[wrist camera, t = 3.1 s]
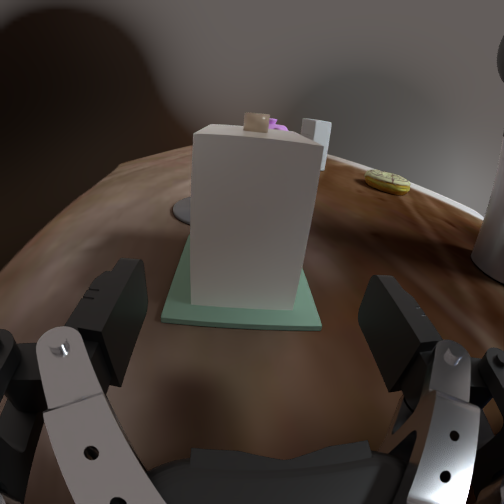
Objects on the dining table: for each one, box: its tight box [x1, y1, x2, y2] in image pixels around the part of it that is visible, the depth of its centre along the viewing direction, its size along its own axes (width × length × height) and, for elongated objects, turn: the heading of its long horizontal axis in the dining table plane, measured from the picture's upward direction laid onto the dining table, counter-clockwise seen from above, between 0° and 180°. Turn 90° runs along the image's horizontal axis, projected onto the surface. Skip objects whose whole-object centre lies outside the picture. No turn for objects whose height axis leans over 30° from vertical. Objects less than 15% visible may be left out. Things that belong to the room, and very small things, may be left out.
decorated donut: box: [365, 170, 410, 196], centre depth 59 cm, size 10×11×4 cm
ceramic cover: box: [190, 112, 324, 310], centre depth 20 cm, size 9×7×12 cm
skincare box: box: [301, 118, 332, 171], centre depth 63 cm, size 6×4×12 cm
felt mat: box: [161, 234, 322, 331], centre depth 23 cm, size 12×10×1 cm
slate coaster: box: [173, 197, 191, 225], centre depth 35 cm, size 11×11×1 cm
